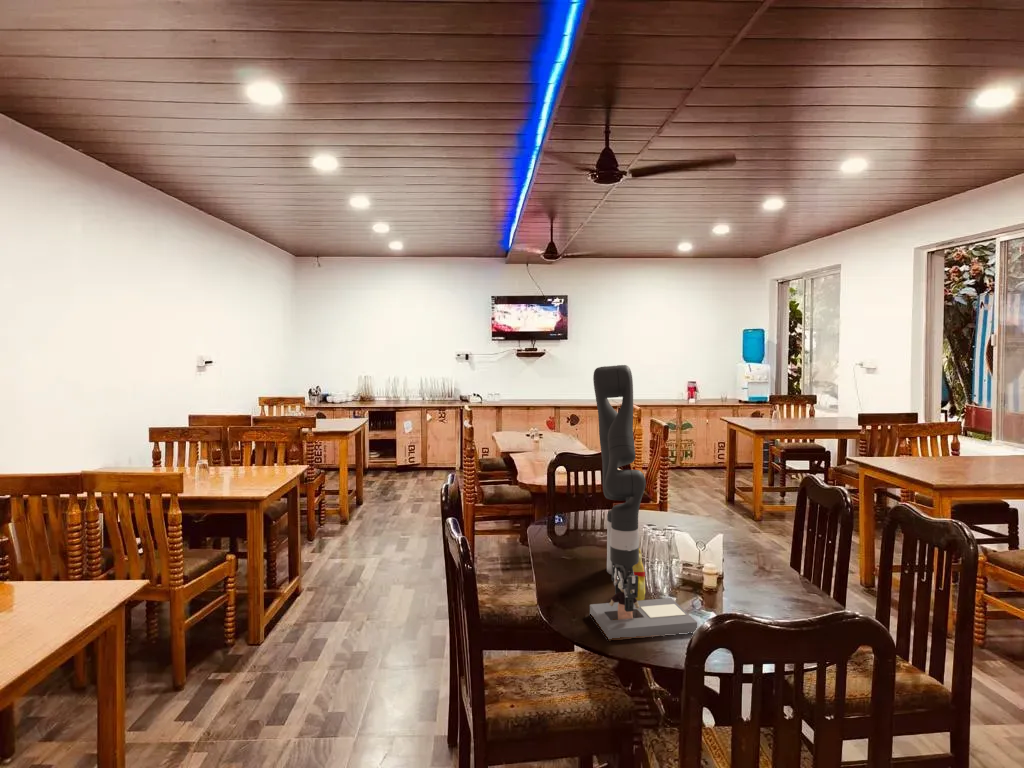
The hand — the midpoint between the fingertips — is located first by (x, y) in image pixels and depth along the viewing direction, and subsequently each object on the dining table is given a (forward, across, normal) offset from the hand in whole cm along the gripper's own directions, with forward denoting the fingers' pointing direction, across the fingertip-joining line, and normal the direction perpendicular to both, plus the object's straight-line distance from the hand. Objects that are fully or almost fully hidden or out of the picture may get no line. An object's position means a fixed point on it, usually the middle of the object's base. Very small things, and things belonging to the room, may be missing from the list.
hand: (624, 605), depth 171 cm
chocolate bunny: (+6, -19, +10) cm, 22 cm away
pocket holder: (+6, 0, +5) cm, 7 cm away
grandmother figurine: (+6, 0, 0) cm, 6 cm away
